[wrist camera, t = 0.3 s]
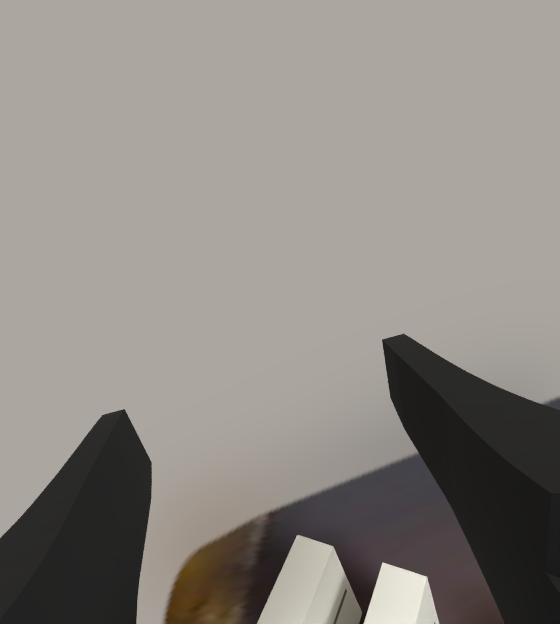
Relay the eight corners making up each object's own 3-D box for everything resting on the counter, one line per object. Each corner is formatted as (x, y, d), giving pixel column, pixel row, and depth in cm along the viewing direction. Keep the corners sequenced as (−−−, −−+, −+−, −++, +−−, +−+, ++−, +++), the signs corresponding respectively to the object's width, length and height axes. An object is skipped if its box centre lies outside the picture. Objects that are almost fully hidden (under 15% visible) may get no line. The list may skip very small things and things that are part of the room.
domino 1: (298, 684, 25) (255, 624, 21) (329, 600, 28) (296, 534, 24) (334, 703, 24) (295, 643, 20) (362, 613, 27) (333, 546, 23)
